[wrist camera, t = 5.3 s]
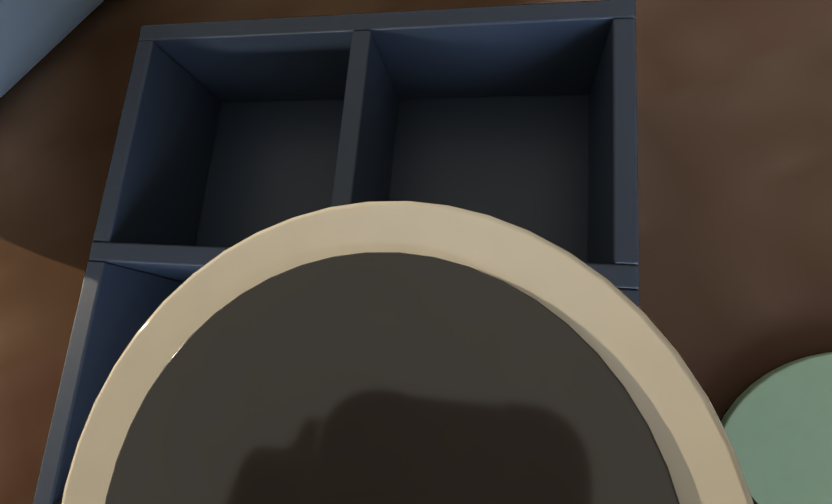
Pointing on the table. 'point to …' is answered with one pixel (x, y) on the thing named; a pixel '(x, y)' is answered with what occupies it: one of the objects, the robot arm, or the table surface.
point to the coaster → (786, 433)
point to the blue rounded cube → (34, 32)
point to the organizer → (352, 150)
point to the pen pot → (401, 377)
